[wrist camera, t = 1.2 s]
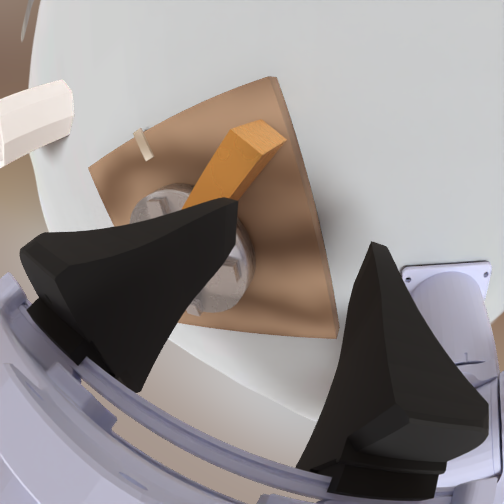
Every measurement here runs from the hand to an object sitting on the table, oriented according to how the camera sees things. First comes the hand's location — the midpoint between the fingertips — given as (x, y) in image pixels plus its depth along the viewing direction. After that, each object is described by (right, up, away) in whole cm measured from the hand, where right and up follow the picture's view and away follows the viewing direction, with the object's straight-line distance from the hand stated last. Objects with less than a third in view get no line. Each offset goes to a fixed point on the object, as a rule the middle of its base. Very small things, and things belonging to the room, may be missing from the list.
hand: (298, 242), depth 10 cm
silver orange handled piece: (-5, +2, +11) cm, 13 cm away
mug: (-28, +19, +14) cm, 36 cm away
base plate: (-6, +1, +15) cm, 16 cm away
